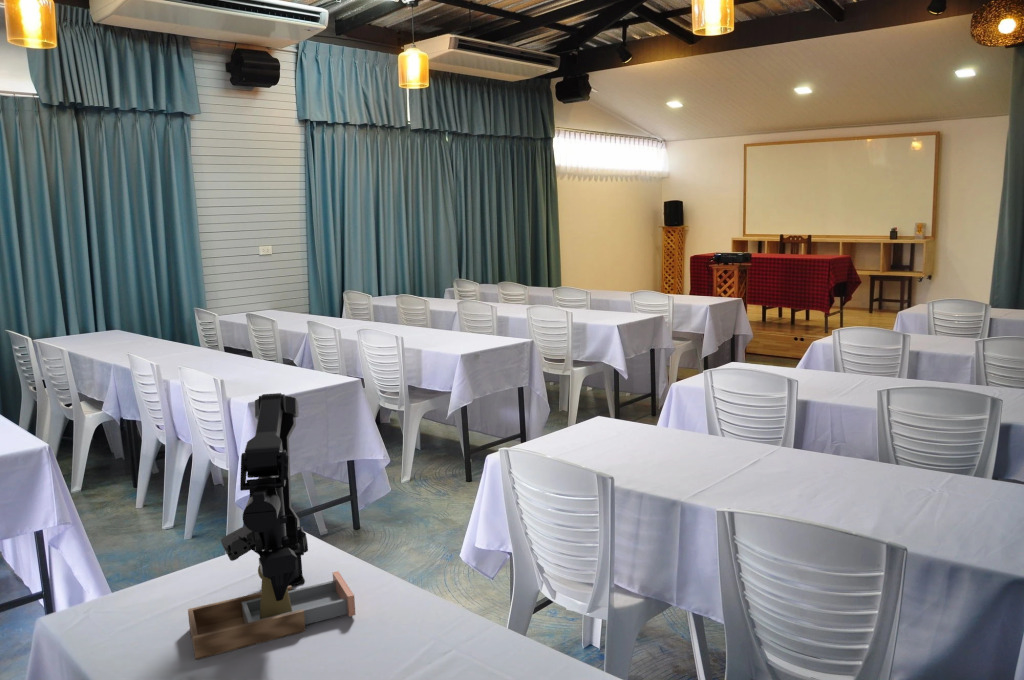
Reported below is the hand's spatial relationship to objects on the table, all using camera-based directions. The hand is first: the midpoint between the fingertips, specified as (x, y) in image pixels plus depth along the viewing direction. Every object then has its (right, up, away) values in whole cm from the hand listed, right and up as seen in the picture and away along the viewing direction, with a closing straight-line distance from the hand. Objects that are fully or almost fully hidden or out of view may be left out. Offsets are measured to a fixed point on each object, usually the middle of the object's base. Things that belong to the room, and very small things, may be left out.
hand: (274, 590), depth 147 cm
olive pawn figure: (0, -5, +1) cm, 5 cm away
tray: (+4, -5, +3) cm, 7 cm away
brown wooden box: (-4, -7, -1) cm, 8 cm away
